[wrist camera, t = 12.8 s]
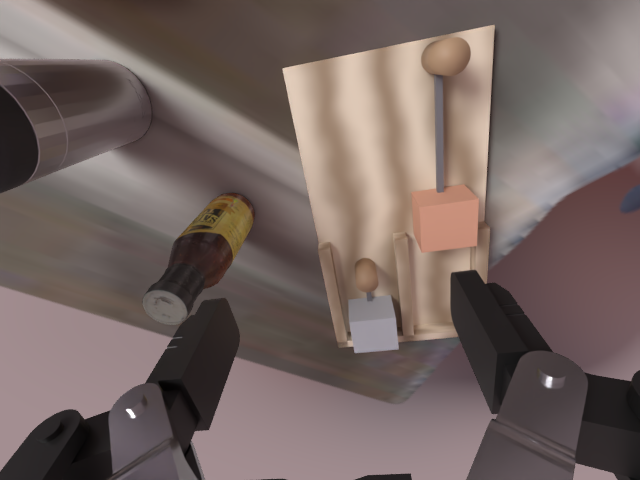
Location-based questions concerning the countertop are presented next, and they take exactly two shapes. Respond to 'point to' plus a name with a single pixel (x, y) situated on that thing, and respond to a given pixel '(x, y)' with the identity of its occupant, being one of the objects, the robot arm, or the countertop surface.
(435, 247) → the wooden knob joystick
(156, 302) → the sauce bottle
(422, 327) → the wooden backboard
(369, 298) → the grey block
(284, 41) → the countertop surface
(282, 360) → the countertop surface
